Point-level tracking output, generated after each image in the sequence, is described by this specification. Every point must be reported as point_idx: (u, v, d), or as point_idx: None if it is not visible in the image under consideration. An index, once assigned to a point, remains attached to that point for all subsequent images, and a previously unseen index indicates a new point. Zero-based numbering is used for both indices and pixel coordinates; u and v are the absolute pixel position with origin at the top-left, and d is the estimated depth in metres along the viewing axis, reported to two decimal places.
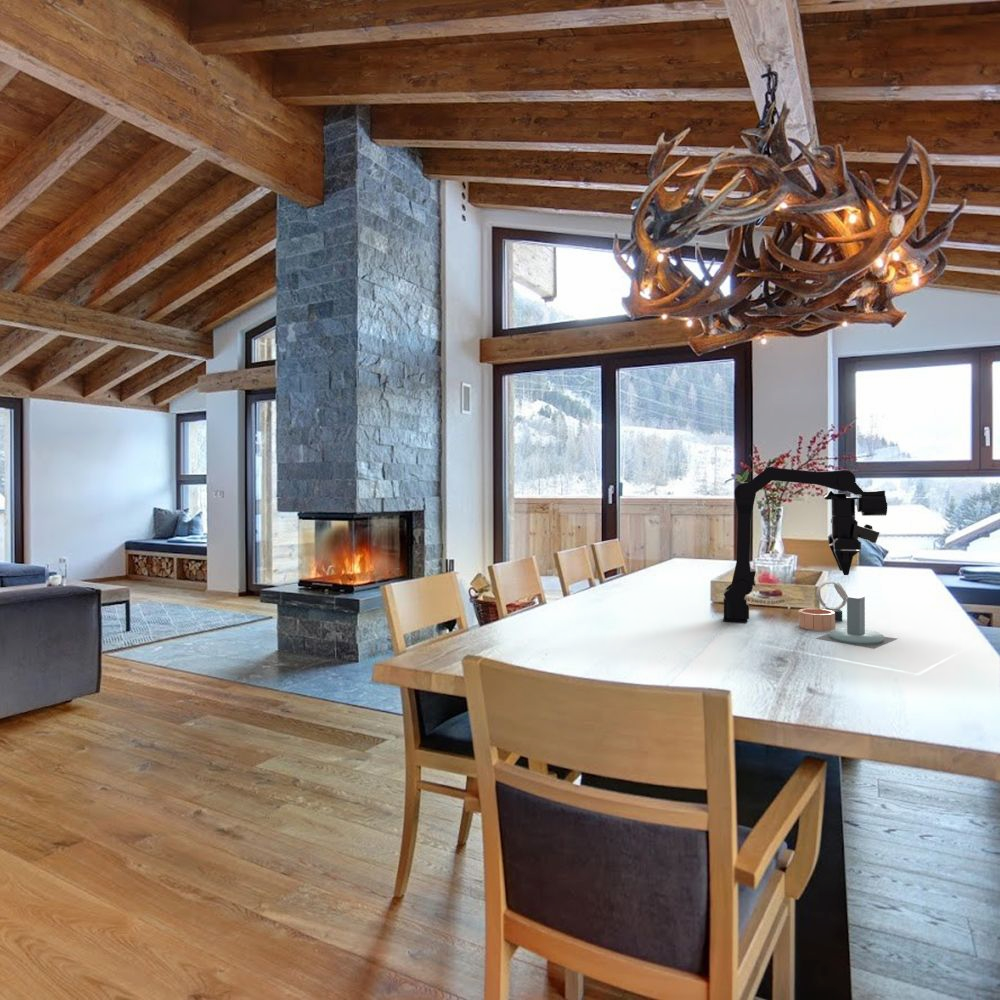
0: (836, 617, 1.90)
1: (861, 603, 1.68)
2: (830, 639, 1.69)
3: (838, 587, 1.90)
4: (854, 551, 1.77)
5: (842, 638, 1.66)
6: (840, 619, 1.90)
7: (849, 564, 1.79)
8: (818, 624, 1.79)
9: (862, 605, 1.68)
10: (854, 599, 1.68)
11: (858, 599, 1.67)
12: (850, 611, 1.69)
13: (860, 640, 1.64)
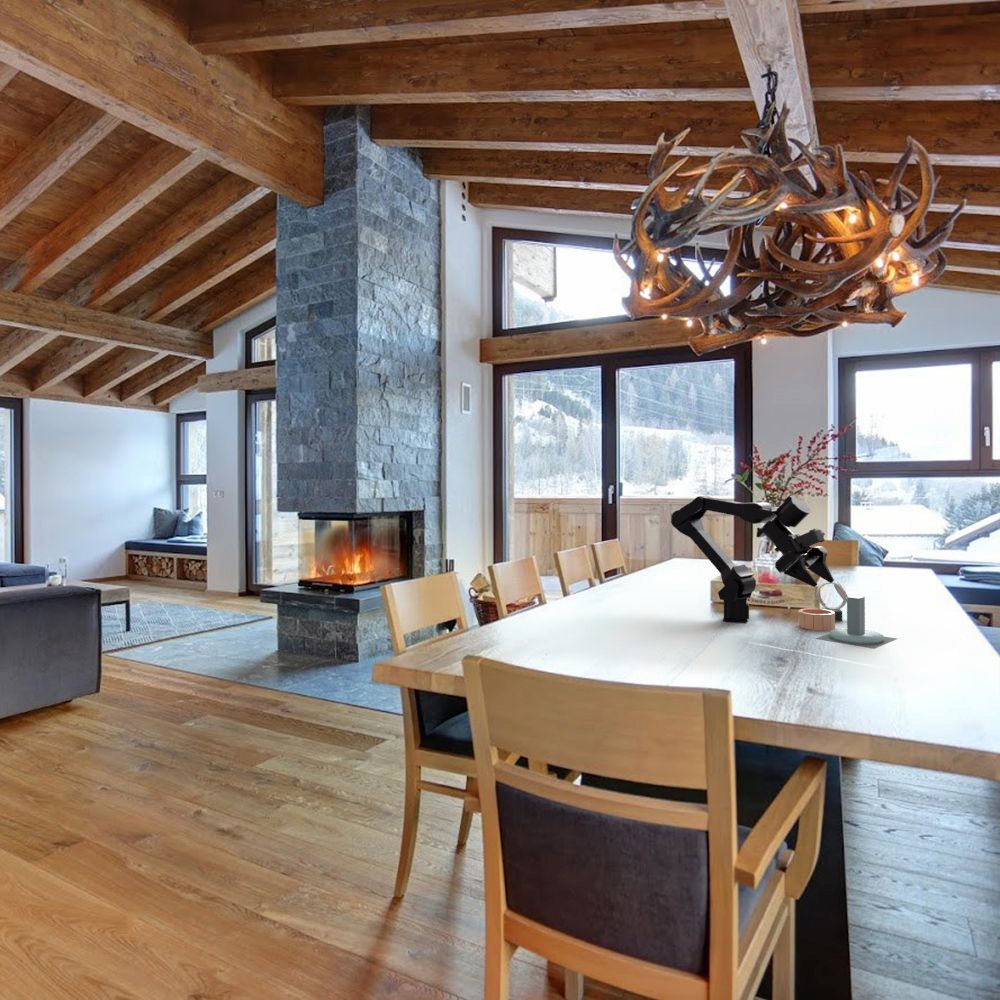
0: (836, 617, 1.90)
1: (861, 603, 1.68)
2: (830, 639, 1.69)
3: (838, 587, 1.90)
4: (795, 562, 1.72)
5: (842, 638, 1.66)
6: (840, 619, 1.90)
7: (807, 575, 1.73)
8: (818, 624, 1.79)
9: (862, 605, 1.68)
10: (854, 599, 1.68)
11: (858, 599, 1.67)
12: (850, 611, 1.69)
13: (860, 640, 1.64)
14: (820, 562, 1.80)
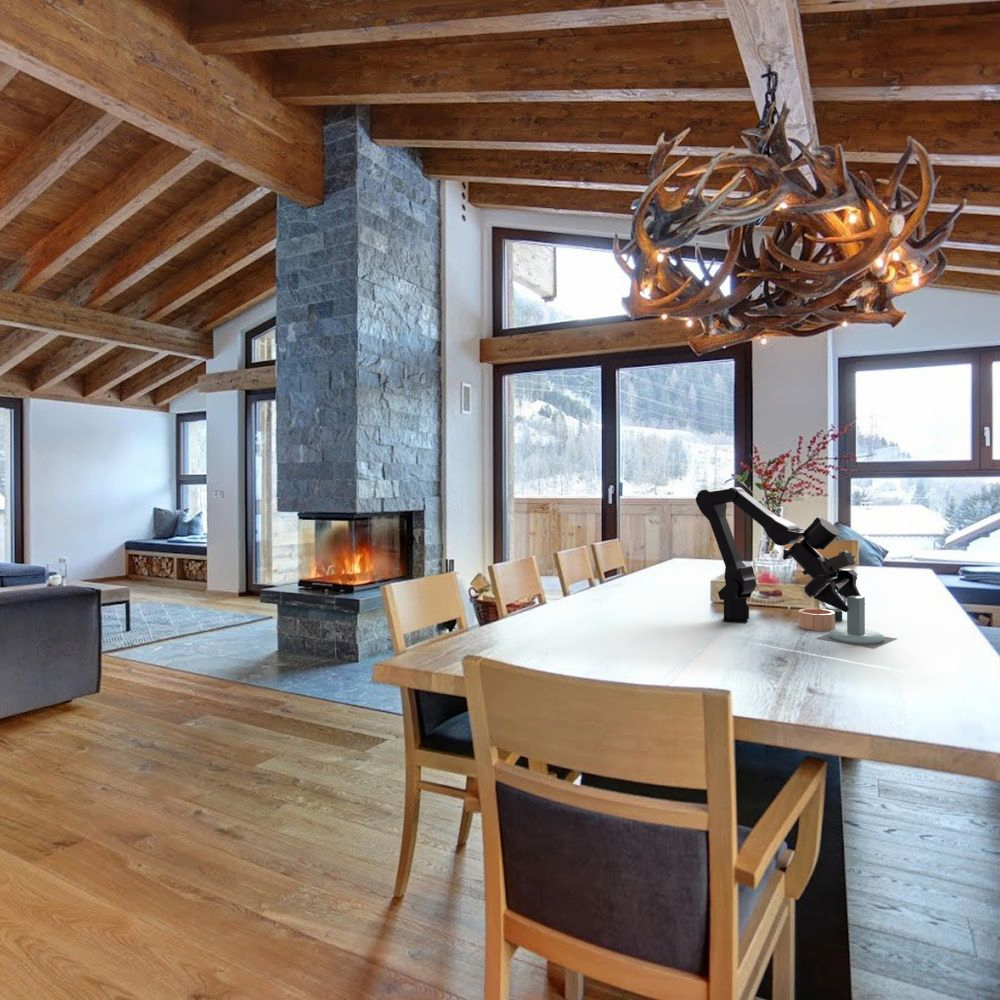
0: (836, 617, 1.90)
1: (861, 603, 1.68)
2: (830, 639, 1.69)
3: None
4: (826, 587, 1.67)
5: (842, 638, 1.66)
6: (840, 619, 1.90)
7: (838, 600, 1.67)
8: (818, 624, 1.79)
9: (862, 605, 1.68)
10: (854, 599, 1.68)
11: (858, 599, 1.67)
12: (850, 611, 1.69)
13: (860, 640, 1.64)
14: (850, 585, 1.75)
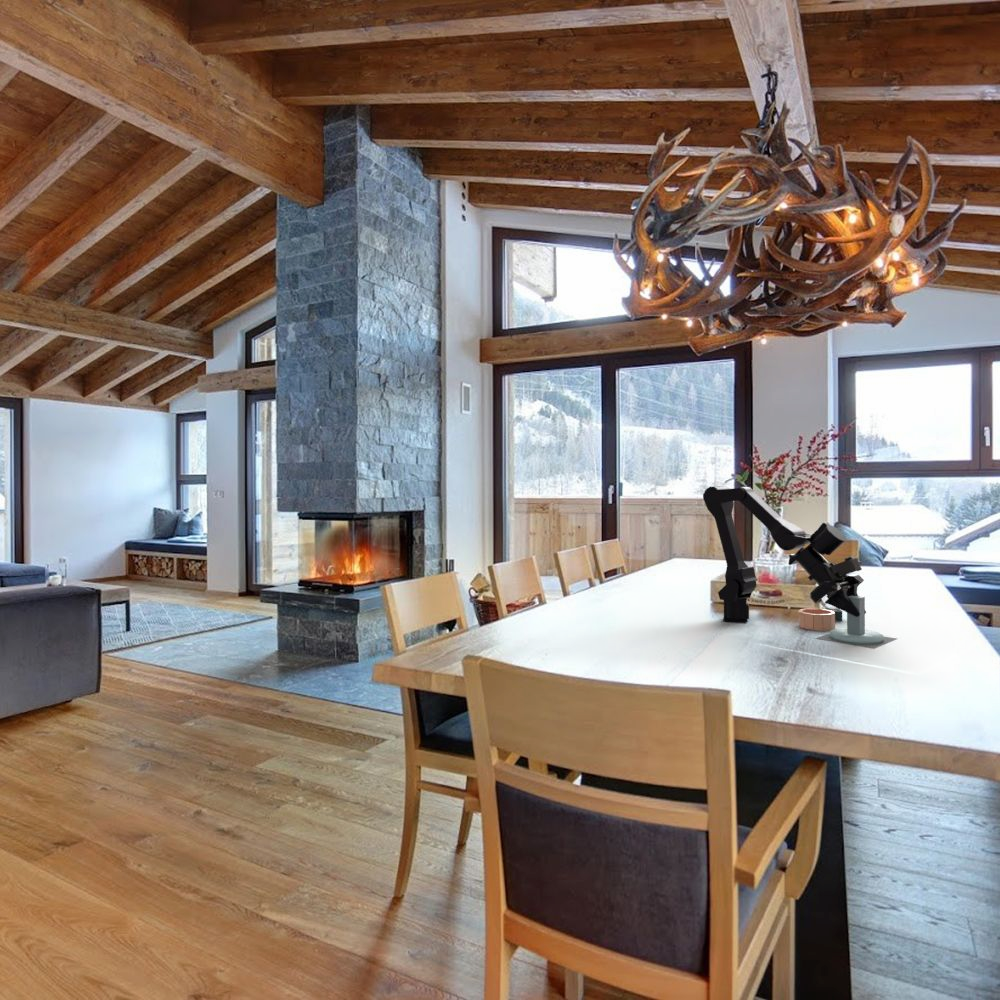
0: (836, 617, 1.90)
1: (861, 603, 1.68)
2: (830, 639, 1.69)
3: None
4: (837, 591, 1.67)
5: (842, 638, 1.66)
6: (840, 619, 1.90)
7: (850, 604, 1.68)
8: (818, 624, 1.79)
9: (862, 605, 1.68)
10: (854, 599, 1.68)
11: (858, 599, 1.67)
12: None
13: (860, 640, 1.64)
14: (851, 593, 1.72)
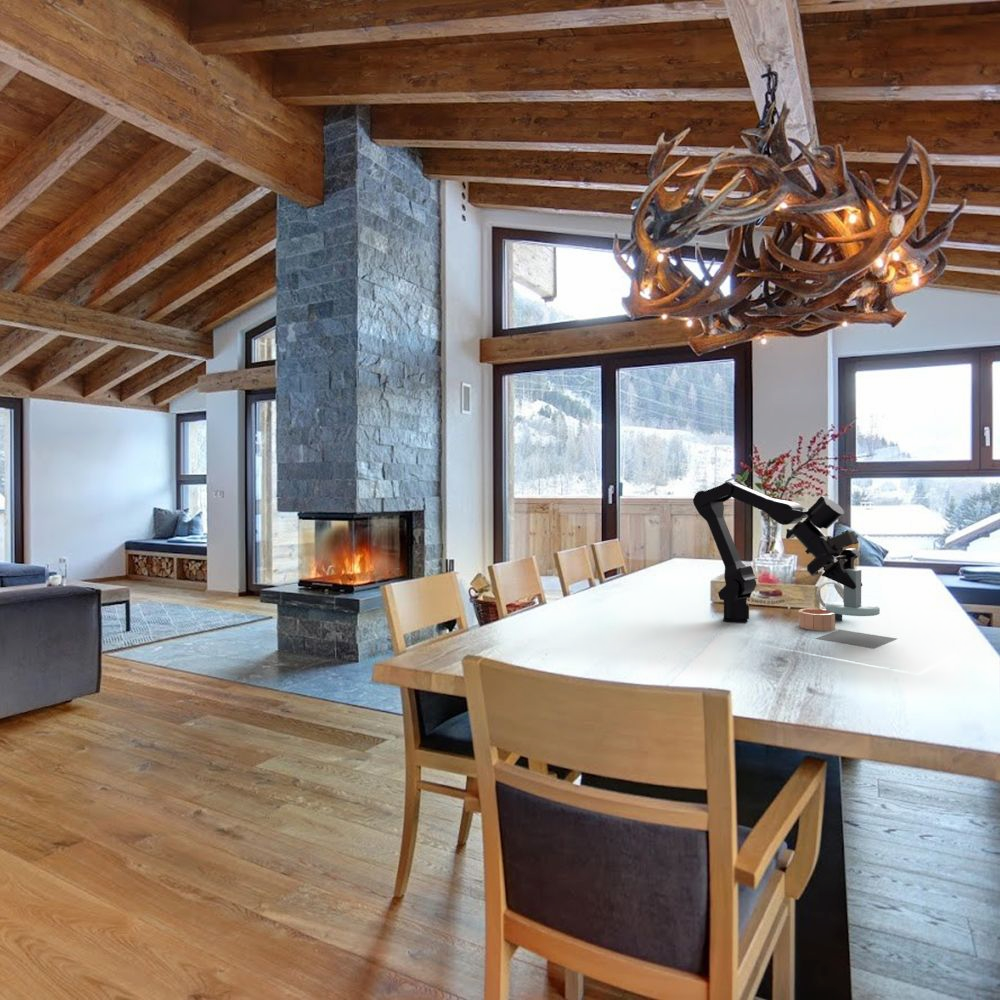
0: (836, 617, 1.90)
1: (858, 576, 1.69)
2: (830, 639, 1.69)
3: (838, 587, 1.90)
4: (834, 564, 1.68)
5: (838, 610, 1.67)
6: (840, 619, 1.90)
7: (846, 577, 1.68)
8: (818, 624, 1.79)
9: (859, 578, 1.69)
10: (851, 572, 1.68)
11: (855, 571, 1.68)
12: None
13: (856, 612, 1.64)
14: (848, 566, 1.72)
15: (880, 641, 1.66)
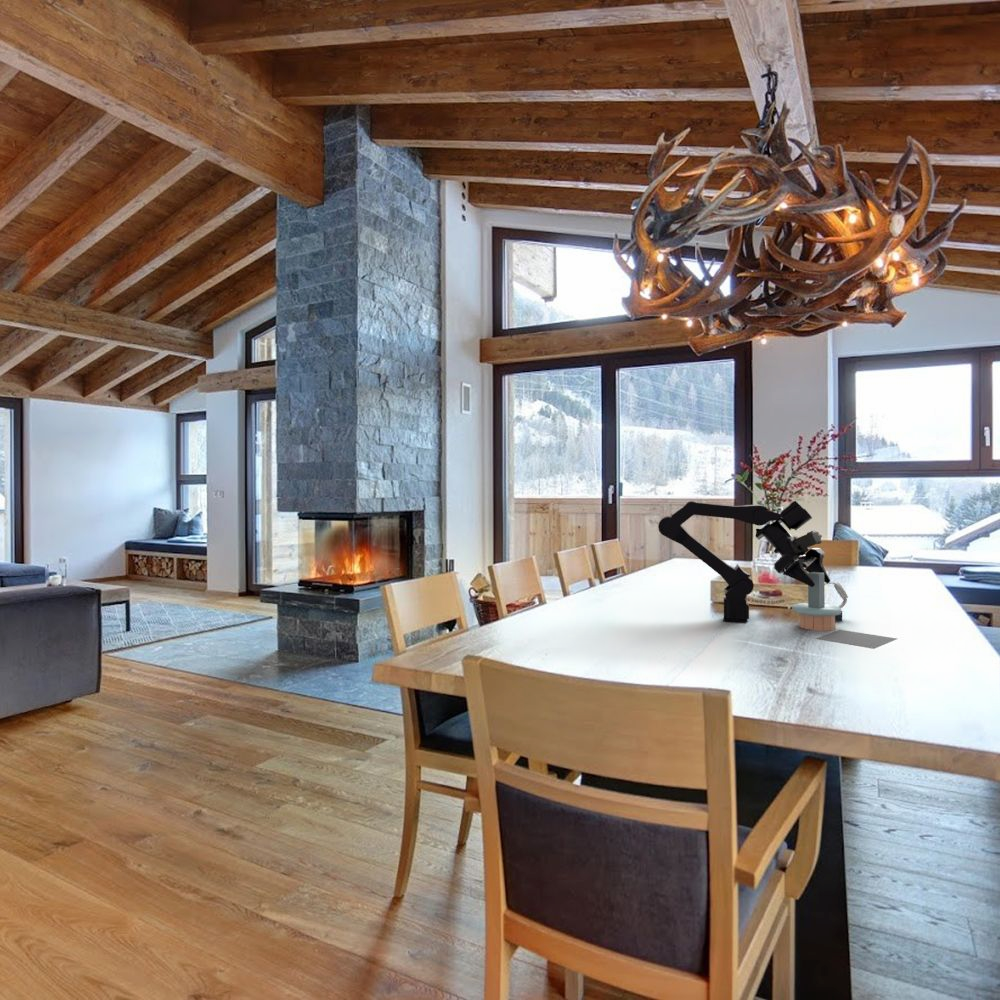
0: (836, 617, 1.90)
1: (821, 579, 1.82)
2: (830, 639, 1.69)
3: (838, 587, 1.90)
4: (794, 563, 1.79)
5: (803, 611, 1.80)
6: (840, 619, 1.90)
7: (806, 575, 1.80)
8: (818, 624, 1.79)
9: (822, 580, 1.82)
10: (814, 575, 1.82)
11: (818, 575, 1.81)
12: None
13: (819, 612, 1.77)
14: (817, 563, 1.87)
15: (880, 641, 1.66)
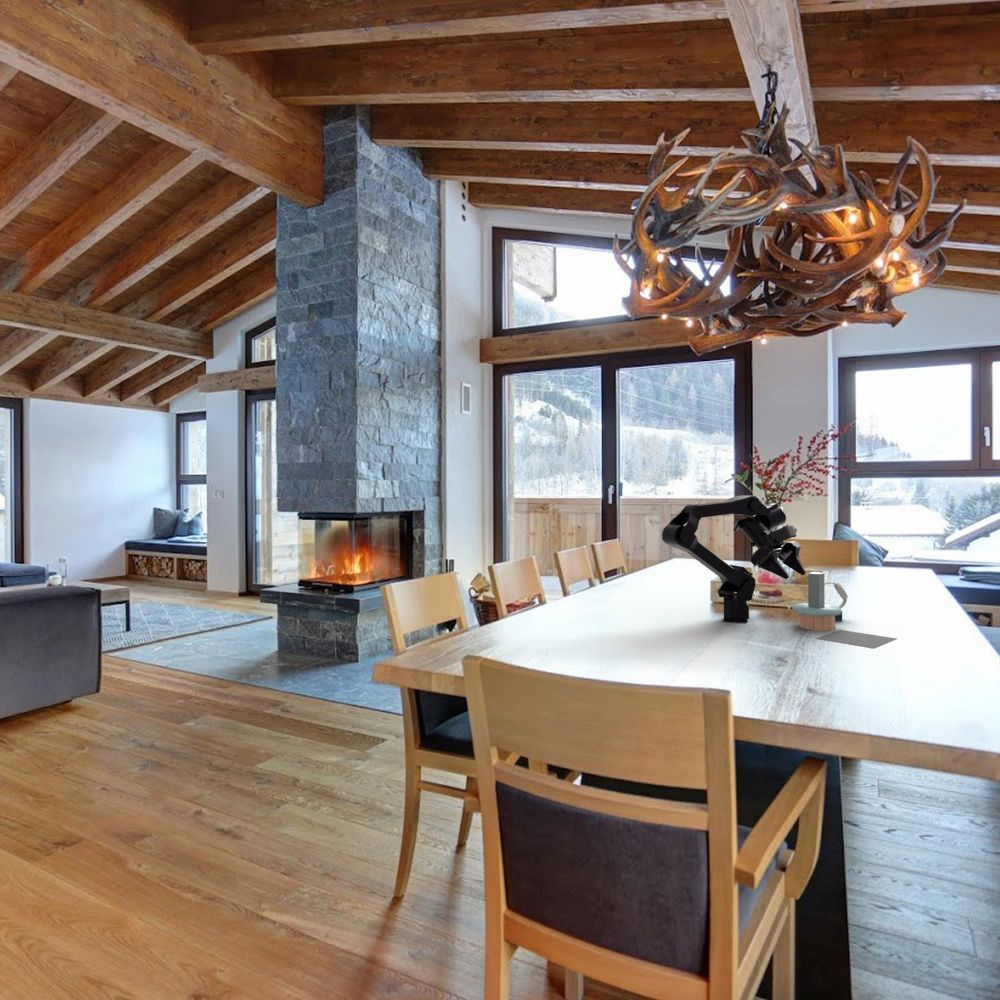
0: (836, 617, 1.90)
1: (821, 579, 1.82)
2: (830, 639, 1.69)
3: (838, 587, 1.90)
4: (768, 556, 1.85)
5: (803, 611, 1.80)
6: (840, 619, 1.90)
7: (780, 568, 1.85)
8: (818, 624, 1.79)
9: (822, 580, 1.82)
10: (814, 575, 1.82)
11: (818, 575, 1.81)
12: (811, 586, 1.82)
13: (819, 612, 1.77)
14: (793, 556, 1.93)
15: (880, 641, 1.66)
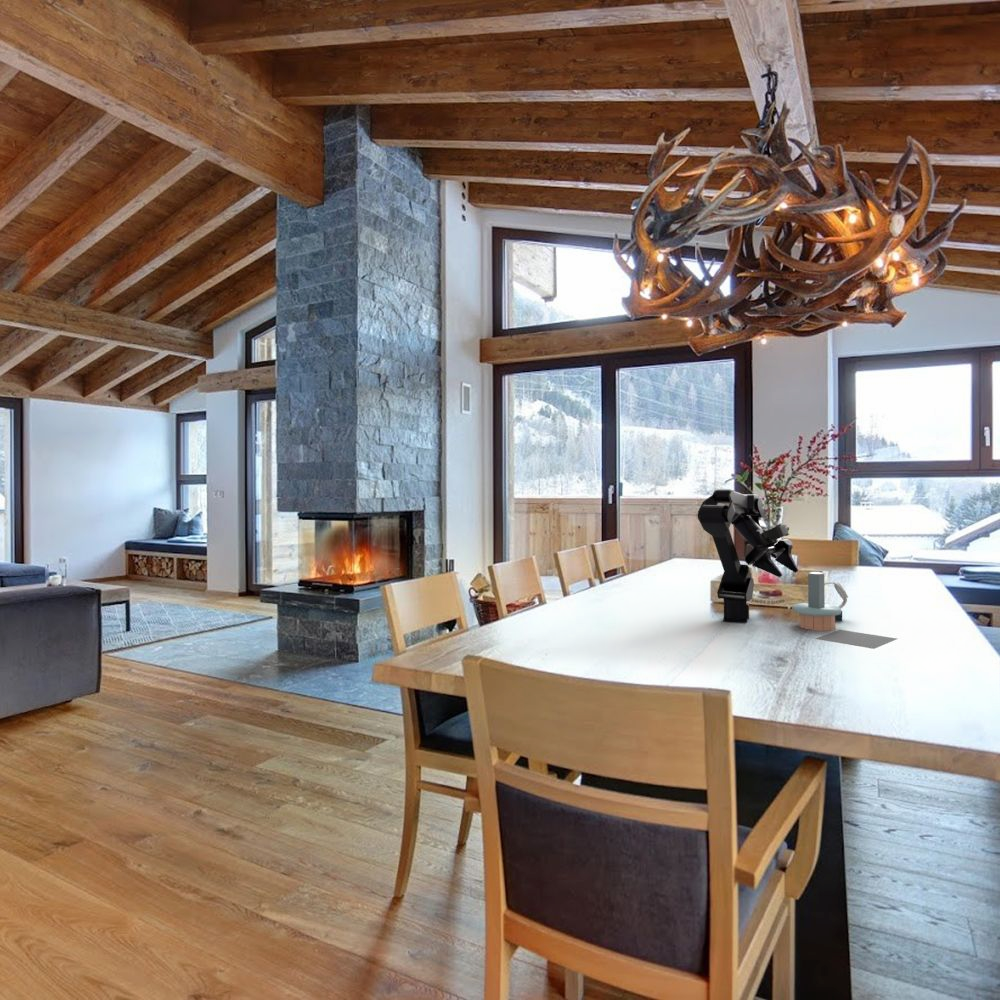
0: (836, 617, 1.90)
1: (821, 579, 1.82)
2: (830, 639, 1.69)
3: (838, 587, 1.90)
4: (762, 555, 1.90)
5: (803, 611, 1.80)
6: (840, 619, 1.90)
7: (773, 567, 1.90)
8: (818, 624, 1.79)
9: (822, 580, 1.82)
10: (814, 575, 1.82)
11: (818, 575, 1.81)
12: (811, 586, 1.82)
13: (819, 612, 1.77)
14: (786, 554, 1.98)
15: (880, 641, 1.66)
